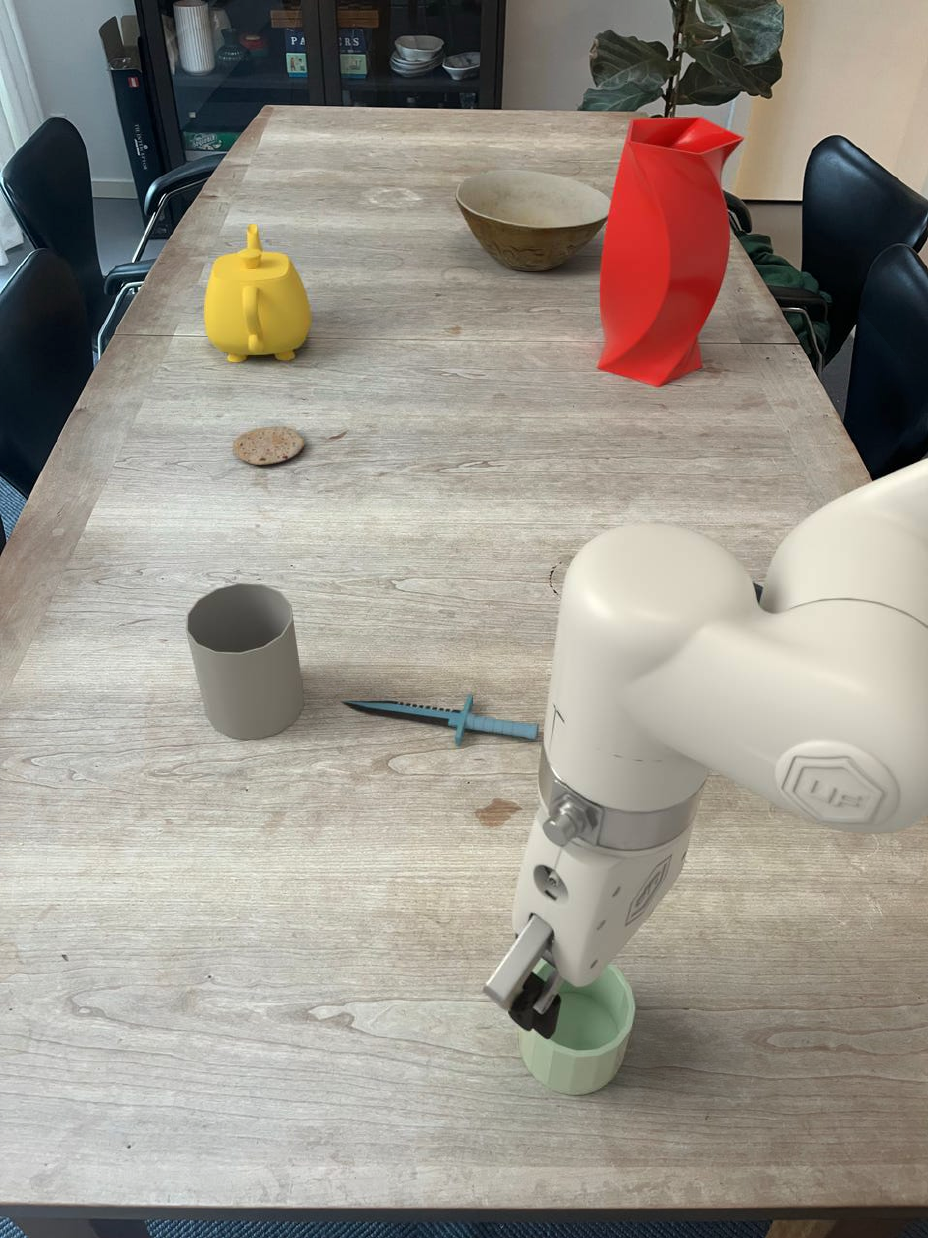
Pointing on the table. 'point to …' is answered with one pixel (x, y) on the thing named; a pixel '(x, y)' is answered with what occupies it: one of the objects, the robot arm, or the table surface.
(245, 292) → the teapot
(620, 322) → the vase
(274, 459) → the flatbread
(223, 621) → the cup
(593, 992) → the green tumbler
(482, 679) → the table surface
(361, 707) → the knife
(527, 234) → the bowl
